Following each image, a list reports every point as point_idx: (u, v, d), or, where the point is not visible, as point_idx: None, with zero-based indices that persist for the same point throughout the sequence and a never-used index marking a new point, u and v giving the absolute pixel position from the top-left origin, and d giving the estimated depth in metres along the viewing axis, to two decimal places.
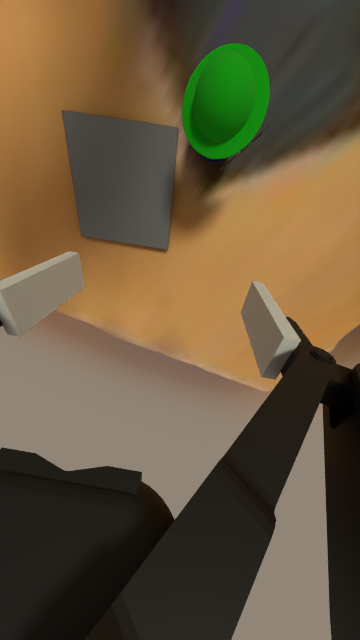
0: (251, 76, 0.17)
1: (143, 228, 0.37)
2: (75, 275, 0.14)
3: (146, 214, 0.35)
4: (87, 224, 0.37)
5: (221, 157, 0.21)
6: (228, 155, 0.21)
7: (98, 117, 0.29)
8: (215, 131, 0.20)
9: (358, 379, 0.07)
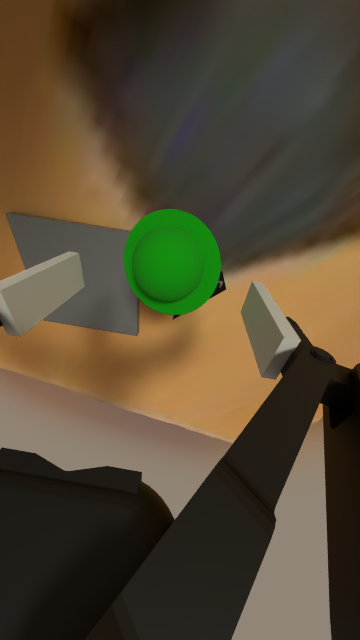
0: (194, 260, 0.14)
1: (109, 317, 0.34)
2: (75, 275, 0.14)
3: (111, 306, 0.32)
4: None
5: (171, 313, 0.18)
6: (179, 313, 0.18)
7: (47, 221, 0.25)
8: (158, 299, 0.16)
9: (358, 379, 0.07)
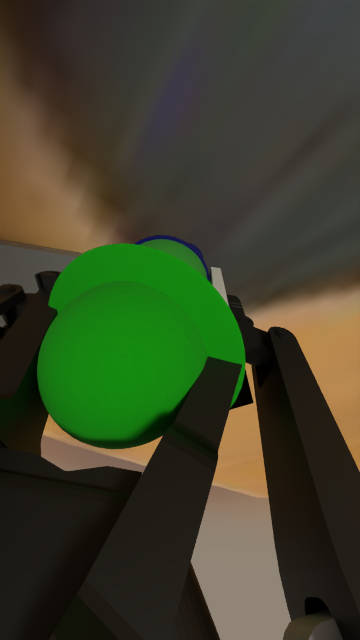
0: (182, 380, 0.05)
1: None
2: None
3: None
4: None
5: None
6: None
7: None
8: None
9: (271, 341, 0.08)
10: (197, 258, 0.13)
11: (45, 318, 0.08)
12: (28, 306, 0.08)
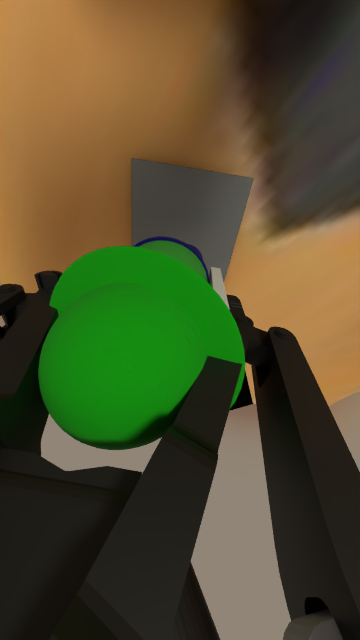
0: (182, 381, 0.06)
1: None
2: None
3: (205, 257, 0.34)
4: None
5: None
6: None
7: (170, 166, 0.27)
8: None
9: (271, 341, 0.08)
10: (197, 259, 0.13)
11: (45, 318, 0.08)
12: (28, 306, 0.08)
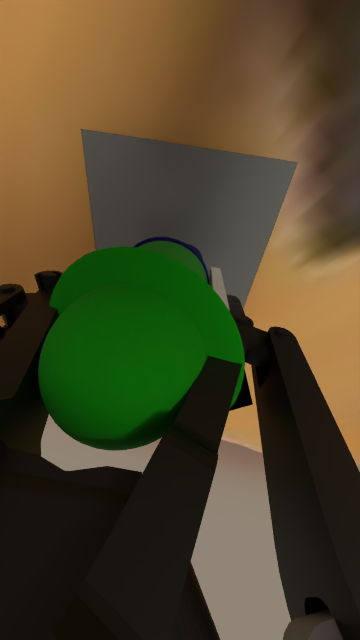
0: (182, 382, 0.06)
1: None
2: None
3: None
4: None
5: None
6: None
7: (148, 143, 0.16)
8: None
9: (271, 341, 0.08)
10: (197, 259, 0.13)
11: (45, 318, 0.08)
12: (28, 306, 0.08)
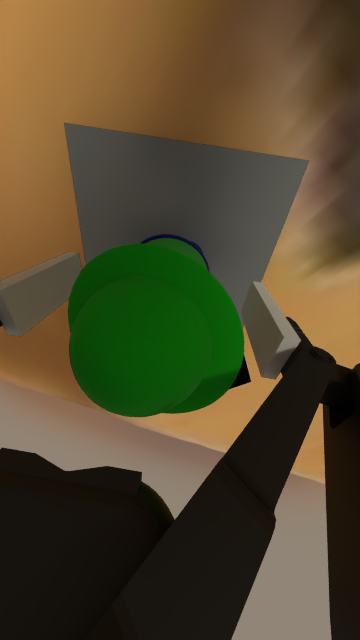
0: (192, 357, 0.07)
1: None
2: (75, 275, 0.14)
3: None
4: None
5: None
6: (167, 412, 0.11)
7: (140, 138, 0.14)
8: None
9: (358, 379, 0.07)
10: (199, 255, 0.14)
11: None
12: None
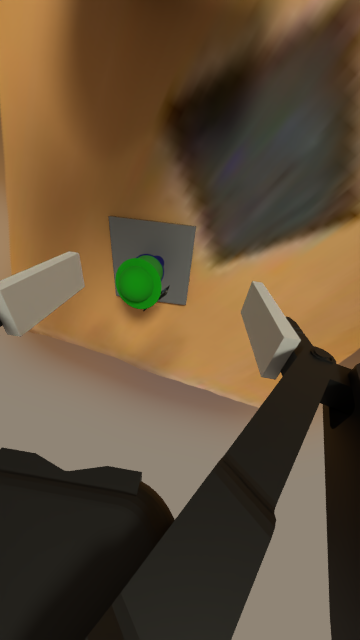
0: (146, 282, 0.31)
1: None
2: (75, 275, 0.14)
3: (169, 281, 0.45)
4: None
5: (141, 308, 0.35)
6: (144, 308, 0.34)
7: (136, 220, 0.38)
8: (132, 301, 0.33)
9: (358, 379, 0.07)
10: (157, 261, 0.38)
11: None
12: None
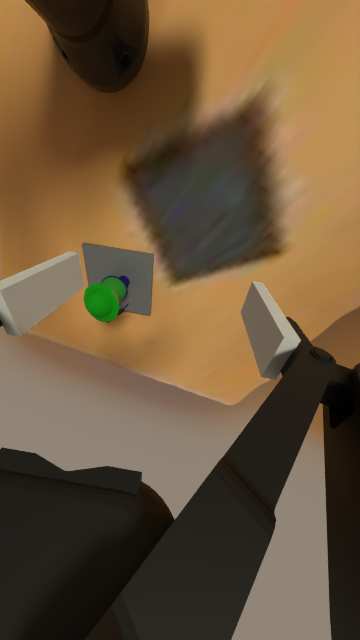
0: (105, 303, 0.40)
1: (133, 303, 0.55)
2: (75, 275, 0.14)
3: (135, 296, 0.54)
4: None
5: (104, 321, 0.44)
6: (107, 321, 0.44)
7: (104, 248, 0.47)
8: None
9: (358, 379, 0.07)
10: (121, 282, 0.47)
11: None
12: None
